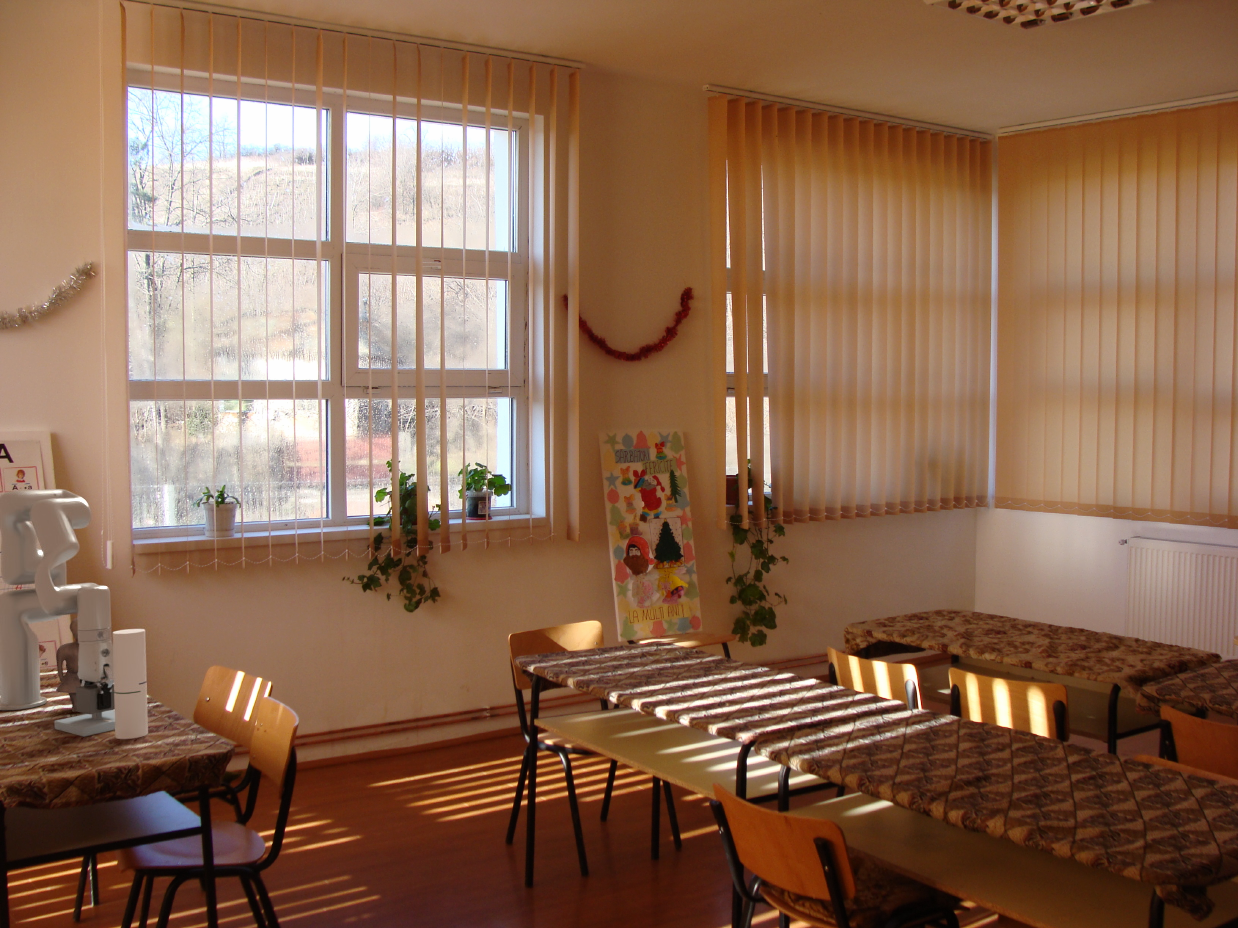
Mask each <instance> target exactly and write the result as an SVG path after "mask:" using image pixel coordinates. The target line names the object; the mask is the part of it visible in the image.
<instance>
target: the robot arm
mask: <svg viewBox="0 0 1238 928" xmlns="http://www.w3.org/2000/svg"><path fill="white" fill-rule="evenodd" d="M92 515H93V514H92V510H91V507H90V505H89V503H88V501H86V499H84V498H83V497H82V496H80V495H78V494H76V493H74V492H71V491H69V490H67V489H63V488H62V489H61V488H53V489H51V488H49V489H20V490H18V489H17V490H12V491H7V492H5V493H3V494H1V495H0V537H1V541H0V543H1V548H0V550H1V552H0V569H1V570H0V575H1V579H2V581H3V582H4V583H5V585H10V586H23V585H34V587H33V588H31V587H28V588H22V589H21V588H20V589H13V590H8V591H4V592H2V593H1V594H0V711H15V710H16V711H17V710H19V711H20V710H24V709H25V710H26V709H31V708H36V707H37V708H38V707H40V706H43V705H44V704H45V705H46V703H47V701H48V700H47V699H48V698H47V697H45V696H41V676H40V675H41V672H40V670H41V669H40V664H41V663H40V640H39V637H38V635H37V633H35V631H34V630H33V629H32V628H31V627H30V626H29V625H31V624H35V623H43V622H49V621H55V620H58V619H60V618H62V616H69V615H75V614H77V616H76V617H77V620H78V643H79V653H78V677H79V679H80V683H81V686H85V685H91V684H95V683H97V687H98V691H99V694H97V703H98V710H103V709H108V708H111V692H112V687H113V685H114V665H113V637H112V614H111V613H112V610H111V606H112V604H111V591H110V588H109V586H106V585H103V584H100V585H99V584H97V583H94V582H83V583H71V584H67V561H69V560H71V559H73V558H74V557H75V556H77V554H78V552H79V551H80V543H79V540H78V539H77V536H76V533H75V530H76V529H77V530H80V529H84V528H87V527H88V526H89V525H90V524H91V522H92ZM38 542H39V545H40V546H39V547H40V548H38ZM101 679H105V680H101ZM100 680H101V681H100ZM104 683H105V684H104ZM102 684H104V685H103V687H102Z"/></svg>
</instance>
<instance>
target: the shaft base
mask: <svg viewBox="0 0 1238 928" xmlns="http://www.w3.org/2000/svg"><path fill="white" fill-rule="evenodd" d="M54 730H57V731H62V732H66V733H68V734H73V735H77V736H80V737H88V736H92V735H97V734H101V733H105V732H110V731H115V709H114V710H109V711H105V712H100V713H95V714H86V713H84V714H81V715H77V716H72V717H71V716H70V717H67V718H61V719H57V720H54Z"/></svg>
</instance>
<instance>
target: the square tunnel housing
mask: <svg viewBox="0 0 1238 928" xmlns="http://www.w3.org/2000/svg"><path fill="white" fill-rule="evenodd" d="M104 684H105V683H104ZM104 684H102V687H103V685H104ZM97 694H99V691H98V687H97V683H96V684H91V685H85V686H80V687H76V703H77V711H76V712H79V713H82V714H95V713H100V712H105V711H109V710H115V702H114V684H113V687H112V692H111V708H108V709H103V710H98V703H97Z"/></svg>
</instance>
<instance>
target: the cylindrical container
mask: <svg viewBox="0 0 1238 928" xmlns="http://www.w3.org/2000/svg"><path fill="white" fill-rule="evenodd" d="M112 644H113V665H114V683H113V685H114V702H115V709H114V710H115V730H114V732H115V733H114V735H115V739H119V740H131V739H138V738H141V737H145V736H147V735H149V725H148V723H149V722H148V721H149V720H148V687H147V685H148V684H147V650H146V645H147V644H146V629H144V628H130V629H120V630H116V631H113V632H112Z"/></svg>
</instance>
